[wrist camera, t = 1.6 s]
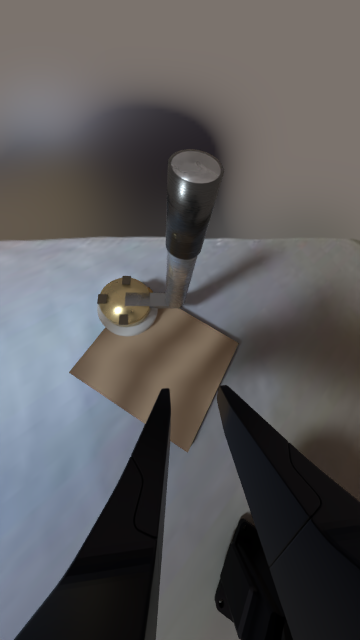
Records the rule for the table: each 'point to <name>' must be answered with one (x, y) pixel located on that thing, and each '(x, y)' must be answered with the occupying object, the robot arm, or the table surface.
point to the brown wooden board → (159, 367)
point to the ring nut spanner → (171, 239)
